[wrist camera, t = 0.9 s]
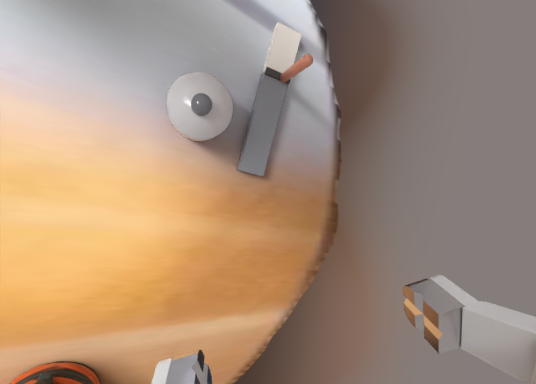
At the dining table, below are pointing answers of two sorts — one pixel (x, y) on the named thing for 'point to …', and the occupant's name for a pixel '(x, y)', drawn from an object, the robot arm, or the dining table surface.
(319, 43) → the dining table surface
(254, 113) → the board
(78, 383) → the beer stein
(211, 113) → the white jar with knob
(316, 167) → the dining table surface
